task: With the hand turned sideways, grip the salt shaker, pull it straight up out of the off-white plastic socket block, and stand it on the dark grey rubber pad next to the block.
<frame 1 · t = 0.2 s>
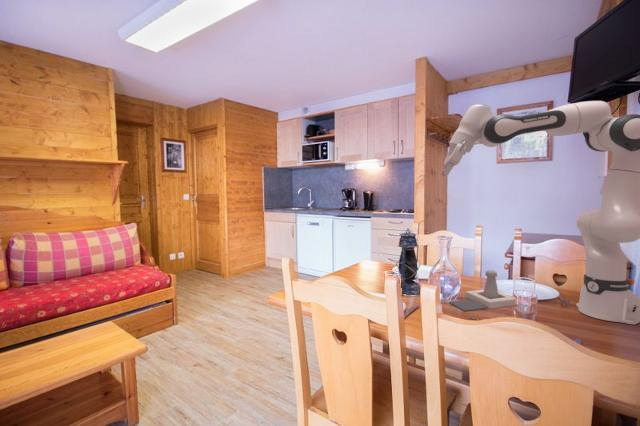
hand: (444, 175, 126), 54 cm above the table, tool tilted 30°, fingers open, 8 cm apart
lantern: (408, 292, 146), on the table
socket block: (490, 300, 132), on the table
salt shaker: (490, 301, 132), resting in socket block
rubber pad: (466, 305, 127), on the table
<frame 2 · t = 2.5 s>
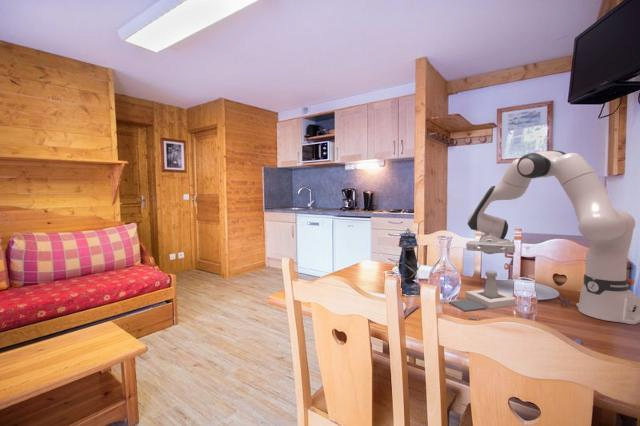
hand: (490, 249, 141), 20 cm above the table, tool horizontal, fingers open, 8 cm apart
nothing on the table moved.
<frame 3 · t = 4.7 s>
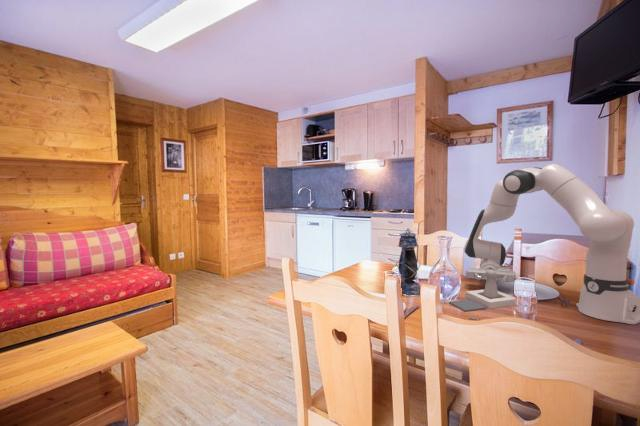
hand: (490, 279, 138), 7 cm above the table, tool horizontal, fingers open, 8 cm apart
nothing on the table moved.
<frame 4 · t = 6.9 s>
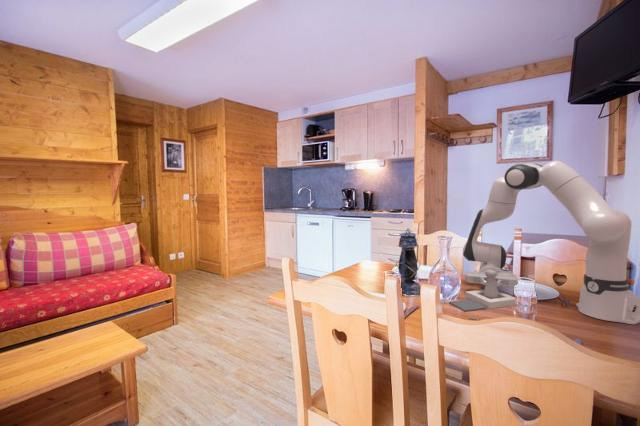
hand: (491, 284, 131), 8 cm above the table, tool horizontal, fingers closed on salt shaker, 3 cm apart
salt shaker: (490, 301, 132), resting in socket block, touching gripper
everything else where it was.
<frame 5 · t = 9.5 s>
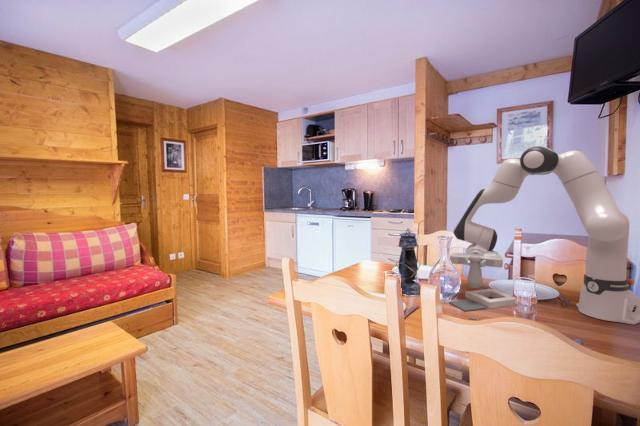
hand: (475, 264, 127), 17 cm above the table, tool horizontal, fingers closed on salt shaker, 3 cm apart
salt shaker: (474, 287, 129), point 7 cm above the table, touching gripper
everything else where it was.
when the fingers open (10 cm above the table, at t = 12.0 s): salt shaker stays where it is, resting on rubber pad.
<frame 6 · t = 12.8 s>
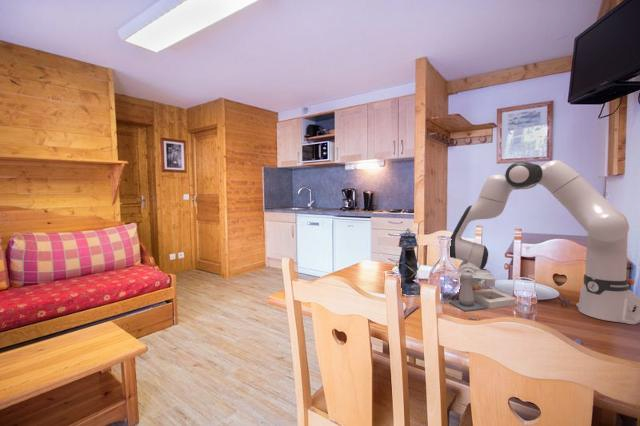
hand: (467, 283, 125), 10 cm above the table, tool horizontal, fingers open, 8 cm apart
salt shaker: (466, 304, 127), resting on rubber pad
everything else where it was.
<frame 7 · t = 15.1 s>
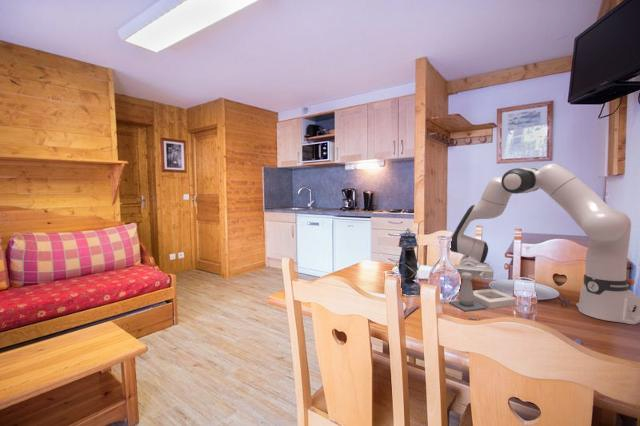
hand: (468, 275, 137), 10 cm above the table, tool horizontal, fingers open, 8 cm apart
nothing on the table moved.
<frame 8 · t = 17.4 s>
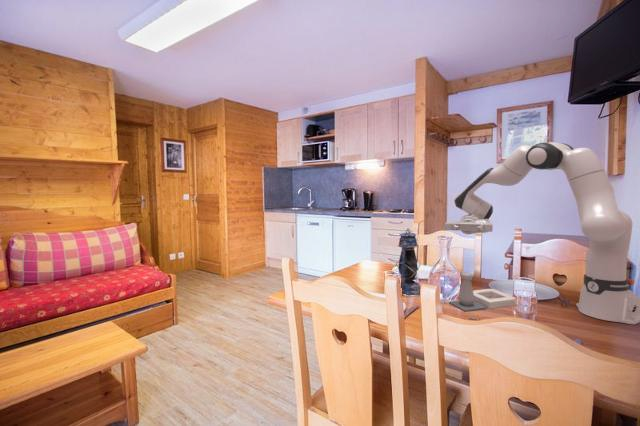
hand: (467, 228, 140), 30 cm above the table, tool horizontal, fingers open, 8 cm apart
nothing on the table moved.
at the end: salt shaker inside the target area on the rubber pad (0.2 cm from its centre), point 0.4 cm above the rubber pad's base; salt shaker tilted 0°; the gripper is holding nothing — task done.
